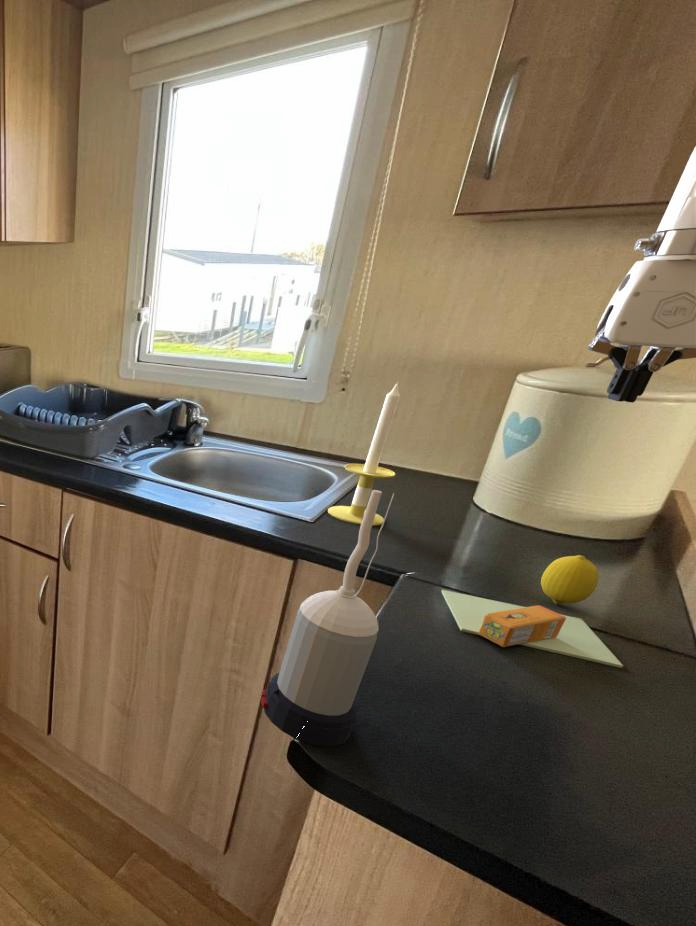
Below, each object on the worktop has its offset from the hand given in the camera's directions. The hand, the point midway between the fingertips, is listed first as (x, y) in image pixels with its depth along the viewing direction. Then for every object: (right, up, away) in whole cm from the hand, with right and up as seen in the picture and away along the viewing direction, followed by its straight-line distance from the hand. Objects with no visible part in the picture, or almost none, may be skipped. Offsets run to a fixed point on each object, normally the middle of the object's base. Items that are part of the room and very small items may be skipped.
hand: (620, 400), depth 74 cm
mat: (-12, -31, +1) cm, 33 cm away
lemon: (-1, -29, +7) cm, 30 cm away
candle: (-11, -15, +38) cm, 42 cm away
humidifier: (-52, -37, -17) cm, 66 cm away
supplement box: (-11, -30, -1) cm, 32 cm away
